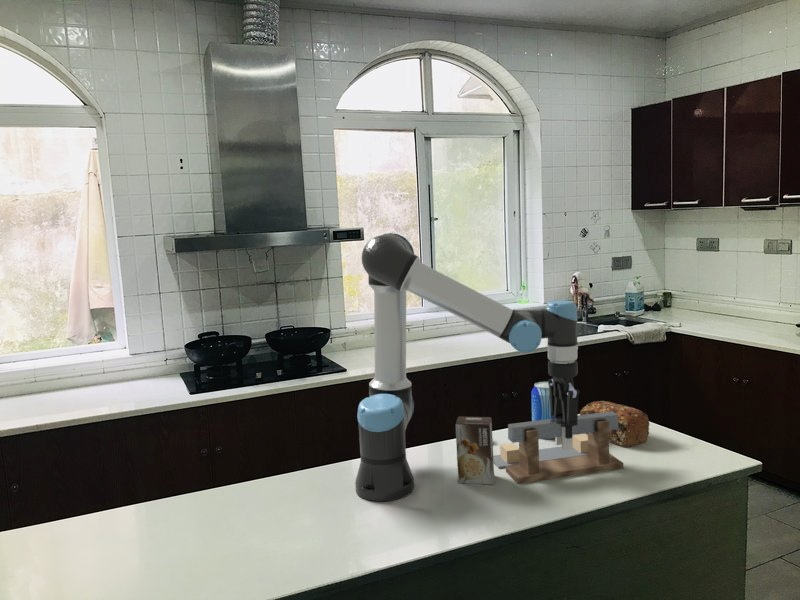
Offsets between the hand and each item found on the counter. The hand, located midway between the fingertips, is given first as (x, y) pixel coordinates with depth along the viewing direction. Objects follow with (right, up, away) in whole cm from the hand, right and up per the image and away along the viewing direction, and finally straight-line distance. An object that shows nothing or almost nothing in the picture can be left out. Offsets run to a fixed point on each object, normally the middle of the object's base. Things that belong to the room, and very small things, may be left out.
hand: (564, 446), depth 170 cm
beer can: (+2, -3, +28) cm, 28 cm away
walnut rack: (0, -7, +1) cm, 7 cm away
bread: (+21, -3, +24) cm, 32 cm away
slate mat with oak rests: (-2, -5, +11) cm, 12 cm away
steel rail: (0, +3, 0) cm, 3 cm away
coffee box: (-23, -8, -2) cm, 25 cm away
